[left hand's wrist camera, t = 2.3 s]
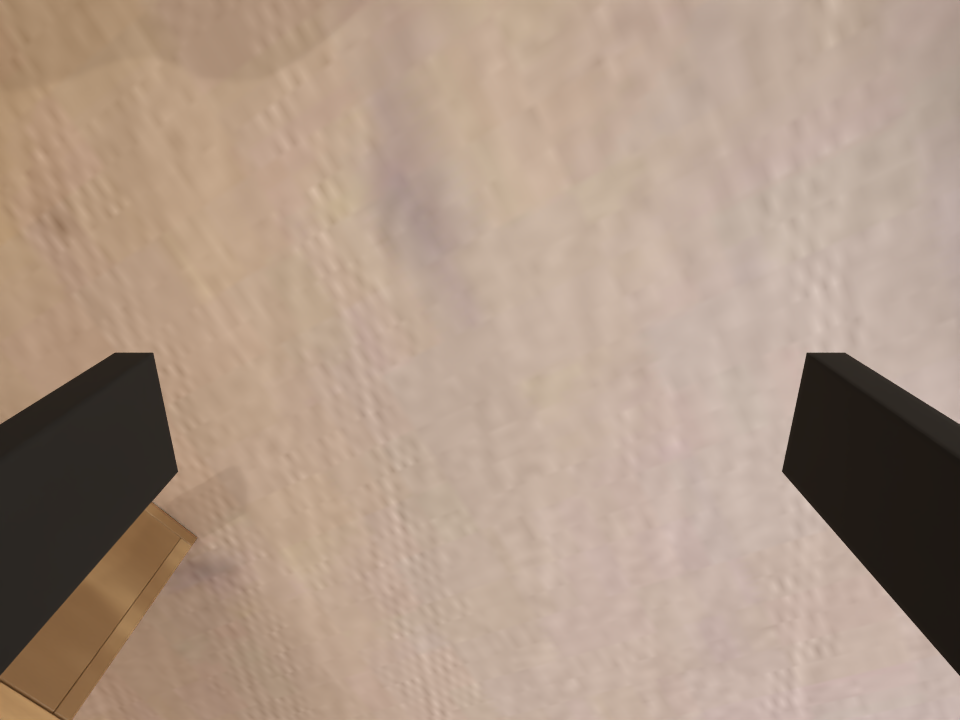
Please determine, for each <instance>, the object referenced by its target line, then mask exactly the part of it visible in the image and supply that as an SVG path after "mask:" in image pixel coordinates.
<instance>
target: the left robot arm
mask: <svg viewBox="0 0 960 720" xmlns="http://www.w3.org/2000/svg"><path fill="white" fill-rule="evenodd" d="M177 472H178V469H177V465H176V460H175V455H174V450H173V445H172V441H171V436H170V431H169V426H168V421H167V417H166V412H165V407H164V402H163V397H162V393H161V388H160V383H159V378H158V374H157V369H156V364H155V359H154V354H153V353H114V354H112V355H111V356H109V357H107V358H106V359H104V360H103V361H101V362H99V363H98V364H96V365H95V366H93V367H91V368H90V369H88V370H87V371H85V372H83V373H82V374H80V375H79V376H77V377H75V378H74V379H72V380H71V381H69V382H67V383H66V384H64V385H63V386H61V387H59V388H58V389H56V390H55V391H53V392H51V393H50V394H48V395H47V396H45V397H43V398H42V399H40V400H39V401H37V402H35V403H34V404H32V405H31V406H29V407H27V408H26V409H24V410H23V411H21V412H19V413H18V414H16V415H15V416H13V417H11V418H10V419H8V420H7V421H5V422H3V423H2V424H0V675H1V674H2V673H3V672H4V671H5V670H6V669H7V667H8V666H9V665H10V664H11V663H12V662H13V660H14V659H15V658H16V657H17V656H18V655H19V654H20V652H21V651H22V650H23V649H24V648H25V647H26V646H27V644H28V643H29V642H30V641H31V640H32V639H33V638H34V636H35V635H36V634H37V633H38V632H39V631H40V629H41V628H42V627H43V626H44V625H45V624H46V623H47V621H48V620H49V619H50V618H51V617H52V616H53V615H54V613H55V612H56V611H57V610H58V609H59V608H60V606H61V605H62V604H63V603H64V602H65V601H66V600H67V598H68V597H69V596H70V595H71V594H72V593H73V592H74V590H75V589H76V588H77V587H78V586H79V585H80V584H81V582H82V581H83V580H84V579H85V578H86V577H87V575H88V574H89V573H90V572H91V571H92V570H93V569H94V567H95V566H96V565H97V564H98V563H99V562H100V561H101V559H102V558H103V557H104V556H105V555H106V554H107V553H108V551H109V550H110V549H111V548H112V547H113V546H114V544H115V543H116V542H117V541H118V540H119V539H120V538H121V536H122V535H123V534H124V533H125V532H126V531H127V530H128V528H129V527H130V526H131V525H132V524H133V523H134V522H135V520H136V519H137V518H138V517H139V516H140V515H141V513H142V512H143V511H144V510H145V509H146V508H147V507H148V505H149V504H150V503H151V502H152V501H153V500H154V499H155V497H156V496H157V495H158V494H159V493H160V492H161V491H162V489H163V488H164V487H165V486H166V485H167V484H168V482H169V481H170V480H171V479H172V478H173V477H174V476H175V474H176V473H177ZM782 472H783V473H784V474H785V476H786V477H787V478H788V479H789V480H790V481H791V482H792V484H793V485H794V486H795V487H796V488H797V489H798V491H799V492H800V493H801V494H802V495H803V496H804V497H805V499H806V500H807V501H808V502H809V503H810V504H811V505H812V507H813V508H814V509H815V510H816V511H817V512H818V513H819V515H820V516H821V517H822V518H823V519H824V520H825V522H826V523H827V524H828V525H829V526H830V527H831V528H832V530H833V531H834V532H835V533H836V534H837V535H838V536H839V538H840V539H841V540H842V541H843V542H844V543H845V544H846V546H847V547H848V548H849V549H850V550H851V551H852V553H853V554H854V555H855V556H856V557H857V558H858V559H859V561H860V562H861V563H862V564H863V565H864V566H865V567H866V569H867V570H868V571H869V572H870V573H871V574H872V575H873V577H874V578H875V579H876V580H877V581H878V582H879V584H880V585H881V586H882V587H883V588H884V589H885V590H886V592H887V593H888V594H889V595H890V596H891V597H892V598H893V600H894V601H895V602H896V603H897V604H898V605H899V607H900V608H901V609H902V610H903V611H904V612H905V613H906V615H907V616H908V617H909V618H910V619H911V620H912V621H913V623H914V624H915V625H916V626H917V627H918V628H919V629H920V631H921V632H922V633H923V634H924V635H925V636H926V638H927V639H928V640H929V641H930V642H931V643H932V644H933V646H934V647H935V648H936V649H937V650H938V651H939V652H940V654H941V655H942V656H943V657H944V658H945V659H946V660H947V662H948V663H949V664H950V665H951V666H952V667H953V669H954V670H955V671H956V672H957V673H958V674H959V675H960V424H958V423H957V422H955V421H953V420H952V419H950V418H949V417H947V416H945V415H944V414H942V413H941V412H939V411H937V410H936V409H934V408H933V407H931V406H929V405H928V404H926V403H925V402H923V401H921V400H920V399H918V398H917V397H915V396H913V395H912V394H910V393H909V392H907V391H905V390H904V389H902V388H901V387H899V386H897V385H896V384H894V383H893V382H891V381H889V380H888V379H886V378H885V377H883V376H881V375H880V374H878V373H877V372H875V371H873V370H872V369H870V368H869V367H867V366H865V365H864V364H862V363H861V362H859V361H857V360H856V359H854V358H853V357H851V356H849V355H848V354H846V353H807V354H806V359H805V364H804V369H803V374H802V378H801V383H800V388H799V393H798V397H797V402H796V407H795V412H794V417H793V421H792V426H791V431H790V436H789V441H788V445H787V450H786V455H785V460H784V465H783V469H782Z"/></svg>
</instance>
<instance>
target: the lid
mask: <svg viewBox="0 0 960 720" xmlns="http://www.w3.org/2000/svg"><path fill="white" fill-rule="evenodd" d="M0 720H60V719H59V718H57V717H56V716H54V715H52V714H51V713H49V712H48V711H46V710H44V709H43V708H41V707H40V706H38V705H36V704H35V703H33V702H32V701H30V700H28V699H27V698H25V697H24V696H22V695H20V694H19V693H17V692H16V691H14V690H12V689H11V688H9V687H8V686H6V685H4V684H3V683H1V682H0Z"/></svg>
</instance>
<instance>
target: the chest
mask: <svg viewBox="0 0 960 720" xmlns="http://www.w3.org/2000/svg"><path fill="white" fill-rule="evenodd" d="M196 539H197V537H196V536H195V535H193V534H192V533H191V532H189V531H188V530H187V529H186V528H184V527H183V526H182V525H180V524H179V523H178V522H177V521H175V520H174V519H173V518H171V517H170V516H169V515H168V514H166V513H165V512H164V511H162V510H161V509H160V508H158V507H157V506H156V505H155V504H153V503H152V502H151V503H150V504H149V505H148V507H147V508H146V509H145V510H144V511H143V512H142V513H141V515H140V516H139V517H138V518H137V519H136V520H135V522H134V523H133V524H132V525H131V526H130V527H129V528H128V530H127V531H126V532H125V533H124V534H123V535H122V536H121V538H120V539H119V540H118V541H117V542H116V543H115V544H114V546H113V547H112V548H111V549H110V550H109V551H108V553H107V554H106V555H105V556H104V557H103V558H102V559H101V561H100V562H99V563H98V564H97V565H96V566H95V567H94V569H93V570H92V571H91V572H90V573H89V574H88V575H87V577H86V578H85V579H84V580H83V581H82V582H81V584H80V585H79V586H78V587H77V588H76V589H75V590H74V592H73V593H72V594H71V595H70V596H69V597H68V598H67V600H66V601H65V602H64V603H63V604H62V605H61V606H60V608H59V609H58V610H57V611H56V612H55V613H54V615H53V616H52V617H51V618H50V619H49V620H48V621H47V623H46V624H45V625H44V626H43V627H42V628H41V629H40V631H39V632H38V633H37V634H36V635H35V636H34V638H33V639H32V640H31V641H30V642H29V643H28V644H27V646H26V647H25V648H24V649H23V650H22V651H21V652H20V654H19V655H18V656H17V657H16V658H15V659H14V660H13V662H12V663H11V664H10V665H9V666H8V667H7V669H6V670H5V671H4V672H3V673H2V674H1V675H0V682H1V683H3V684H4V685H6V686H8V687H9V688H11V689H12V690H14V691H16V692H17V693H19V694H20V695H22V696H24V697H25V698H27V699H28V700H30V701H32V702H33V703H35V704H36V705H38V706H40V707H41V708H43V709H44V710H46V711H48V712H49V713H51V714H52V715H54V716H56V717H57V718H59V719H60V720H72V719H73V718H74V716H75V715H76V713H77V712H78V710H79V709H80V707H81V706H82V704H83V703H84V702H85V700H86V699H87V697H88V696H89V694H90V693H91V691H92V690H93V689H94V687H95V686H96V684H97V683H98V681H99V680H100V678H101V677H102V675H103V674H104V673H105V671H106V670H107V668H108V667H109V665H110V664H111V662H112V661H113V659H114V658H115V657H116V655H117V654H118V652H119V651H120V649H121V648H122V646H123V645H124V644H125V642H126V641H127V639H128V638H129V636H130V635H131V633H132V632H133V630H134V629H135V628H136V626H137V625H138V623H139V622H140V620H141V619H142V617H143V616H144V615H145V613H146V612H147V610H148V609H149V607H150V606H151V604H152V603H153V601H154V600H155V599H156V597H157V596H158V594H159V593H160V591H161V590H162V588H163V587H164V586H165V584H166V583H167V581H168V580H169V578H170V577H171V575H172V574H173V572H174V571H175V570H176V568H177V567H178V565H179V564H180V562H181V561H182V559H183V558H184V556H185V555H186V554H187V552H188V551H189V549H190V548H191V546H192V545H193V543H194V542H195V541H196Z"/></svg>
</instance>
